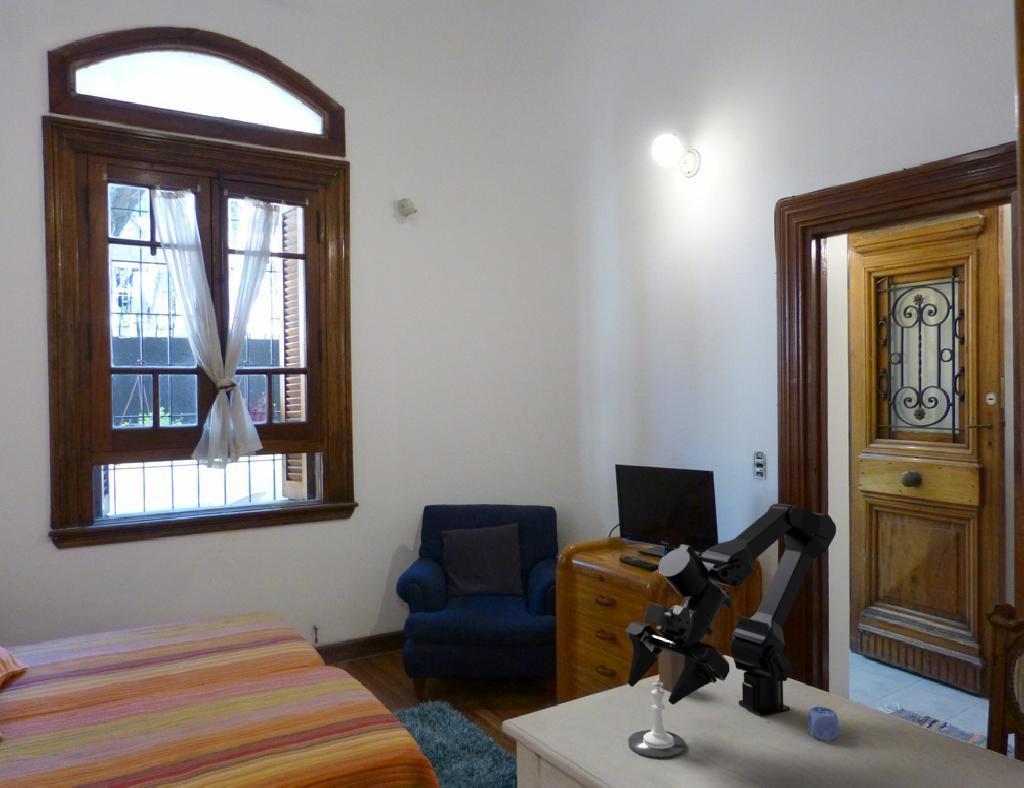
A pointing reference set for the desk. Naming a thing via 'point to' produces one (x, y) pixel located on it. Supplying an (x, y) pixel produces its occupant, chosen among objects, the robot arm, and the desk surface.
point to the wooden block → (670, 669)
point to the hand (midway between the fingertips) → (649, 693)
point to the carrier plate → (644, 750)
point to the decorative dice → (823, 723)
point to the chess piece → (658, 723)
